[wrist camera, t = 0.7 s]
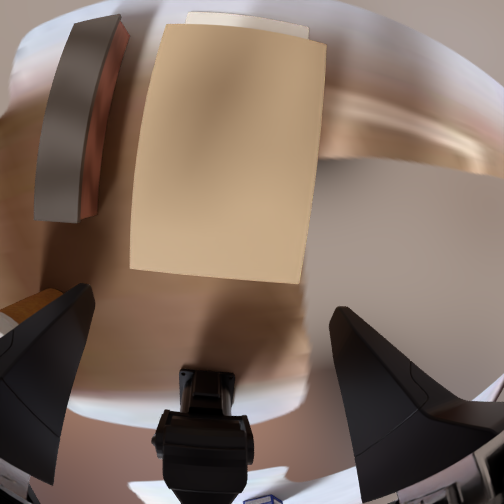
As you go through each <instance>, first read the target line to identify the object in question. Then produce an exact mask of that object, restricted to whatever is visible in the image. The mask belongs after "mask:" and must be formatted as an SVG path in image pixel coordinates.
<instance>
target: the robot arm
mask: <svg viewBox="0 0 504 504" xmlns="http://www.w3.org/2000/svg"><path fill="white" fill-rule="evenodd" d="M94 310H95V299H94V295H93V291H92V287H91V286H90V285H89V284H84V283H80V284H78V285H76V286H75V287H73V288H72V289H70V290H69V291H67V292H66V293H64V294H63V295H61V296H60V297H58V298H57V299H55V300H54V301H52V302H51V303H49V304H48V305H46V306H45V307H43V308H42V309H40V310H39V311H37V312H36V313H34V314H33V315H32V316H30V317H29V318H27V319H26V320H24V321H23V322H22V323H20V324H19V325H17V326H16V327H15V328H14V329H12V330H11V331H9V332H8V333H7V334H5V335H4V336H2V337H1V338H0V504H40V502H39V500H38V499H37V497H36V495H35V493H34V492H33V490H32V488H31V486H30V484H29V480H30V475H31V476H33V477H35V478H37V479H39V480H41V481H43V482H45V483H47V484H50V485H52V486H53V483H54V475H55V467H56V460H57V454H58V448H59V442H60V436H61V431H62V426H63V422H64V417H65V413H66V409H67V405H68V401H69V397H70V393H71V389H72V386H73V382H74V379H75V376H76V372H77V369H78V366H79V363H80V359H81V356H82V353H83V350H84V347H85V344H86V341H87V337H88V333H89V329H90V325H91V321H92V317H93V313H94ZM329 331H330V338H331V345H332V353H333V359H334V365H335V369H336V373H337V377H338V381H339V386H340V390H341V394H342V398H343V403H344V407H345V412H346V417H347V422H348V426H349V431H350V436H351V441H352V446H353V452H354V456H355V463H356V469H357V475H358V480H359V487H360V493H361V499H362V503H365V502H369V501H372V500H375V499H378V498H381V497H384V496H387V495H389V494H392V493H395V492H396V493H397V496H398V500H395V501H393V502H390V503H388V504H504V402H479V401H466V400H463V399H460V398H458V397H457V396H455V395H454V394H452V393H451V392H450V391H448V390H447V389H446V388H444V387H443V386H442V385H440V384H439V383H438V382H436V381H435V380H434V379H432V378H431V377H430V376H428V375H427V374H426V373H424V371H422V370H421V369H420V368H419V367H418V366H416V365H415V364H414V363H413V362H412V361H410V360H409V359H408V358H407V357H406V356H405V355H404V354H403V353H401V352H400V351H399V350H398V349H397V348H396V347H394V346H393V345H392V344H391V343H390V342H389V341H387V340H386V339H385V338H384V337H383V336H382V335H380V334H379V333H378V332H377V331H376V330H375V329H373V328H372V327H371V326H370V325H369V324H367V323H366V322H365V321H364V320H363V319H362V318H360V317H359V316H358V315H357V314H356V313H354V312H353V311H352V310H351V309H350V308H348V307H346V306H339V307H337V308H336V309H335V311H334V313H333V316H332V318H331V320H330V323H329ZM183 373H185V374H183ZM230 376H232V377H230ZM234 383H235V375H234V373H229V372H213V371H200V370H190V369H181V370H180V372H179V386H180V405H181V407H180V412H175V411H170V410H166V409H165V410H164V413H163V414H162V416H161V418H160V421H159V424H158V427H157V430H156V433H155V434H154V436H153V437H152V441H151V442H152V444H153V445H154V446H155V448H156V452H157V457H158V458H159V459H163V478H164V481H165V483H166V485H167V486H168V488H169V489H172V491H173V492H174V494H175V495H176V497H177V498H178V500H179V501H180V502H181V504H231V503H232V502H233V501H234V499H235V498H236V497H237V495H238V494H239V493H242V491H243V490H244V488H245V486H246V484H247V465H251V464H252V463H253V459H254V440H253V434H252V431H251V428H250V424H249V421H248V418H247V415H242V416H231V407H232V399H233V391H234Z"/></svg>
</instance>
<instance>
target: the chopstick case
mask: <svg viewBox="0 0 504 504" xmlns="http://www.w3.org/2000/svg"><path fill="white" fill-rule="evenodd" d="M120 20H121V15H120V14H117V15H111V16H106V17H100V18H96V19H91V20H87V21H83V22H79V23H75V24H74V26H73V28H72V30H71V32H70V35H69V37H68V40H67V42H66V45H65V47H64V50H63V53H62V55H61V58H60V61H59V64H58V67H57V70H56V73H55V76H54V80H53V83H52V87H51V90H50V94H49V98H48V102H47V106H46V111H45V115H44V120H43V125H42V131H41V137H40V143H39V150H38V158H37V167H36V178H35V194H34V220H39V221H53V222H67V223H80V221H81V219H84V218H87V217H91V216H94V215H97V208H98V191H99V179H100V169H101V160H102V152H103V145H104V139H105V132H106V127H107V121H108V116H109V111H110V106H111V101H112V97H113V92H114V88H115V84H116V80H117V77H118V73H119V69H120V66H121V62H122V59H123V56H124V52H125V49H126V46H127V43H128V40H129V37H130V35H129V34H128V32H127V30H126V29H125V27H124V26H123V24H122V22H121V21H120Z"/></svg>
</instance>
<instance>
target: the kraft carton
mask: <svg viewBox="0 0 504 504" xmlns="http://www.w3.org/2000/svg"><path fill="white" fill-rule="evenodd" d="M326 48H327V44H323V43H320V42H316V41H312V40H308V39H304V38H300V37H296V36H291V35H287V34H282V33H276V32H271V31H265V30H259V29H252V28H244V27H235V26H224V25H208V24H166V27H165V30H164V33H163V36H162V40H161V43H160V46H159V50H158V53H157V57H156V61H155V64H154V68H153V72H152V76H151V80H150V85H149V89H148V94H147V99H146V103H145V108H144V114H143V119H142V125H141V131H140V137H139V144H138V151H137V159H136V167H135V176H134V186H133V198H132V212H131V233H130V269H138V270H147V271H156V272H165V273H175V274H184V275H195V276H205V277H216V278H227V279H239V280H251V281H264V282H277V283H291V284H299V281H300V276H301V270H302V264H303V258H304V252H305V246H306V240H307V234H308V227H309V221H310V214H311V207H312V200H313V192H314V185H315V177H316V168H317V160H318V151H319V142H320V132H321V121H322V110H323V98H324V84H325V68H326Z"/></svg>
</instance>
